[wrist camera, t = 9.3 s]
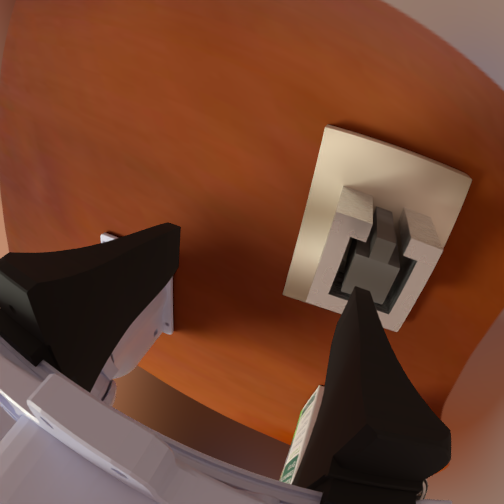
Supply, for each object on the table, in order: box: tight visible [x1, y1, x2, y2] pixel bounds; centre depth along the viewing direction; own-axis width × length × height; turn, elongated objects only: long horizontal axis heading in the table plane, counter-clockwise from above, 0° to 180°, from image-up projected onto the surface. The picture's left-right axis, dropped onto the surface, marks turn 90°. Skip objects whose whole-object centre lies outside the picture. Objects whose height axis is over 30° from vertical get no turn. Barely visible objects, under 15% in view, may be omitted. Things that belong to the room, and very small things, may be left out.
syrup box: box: [279, 385, 324, 484], centre depth 24 cm, size 6×6×14 cm
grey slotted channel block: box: [306, 186, 443, 332], centre depth 17 cm, size 6×6×4 cm
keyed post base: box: [282, 125, 472, 332], centre depth 18 cm, size 12×9×5 cm
